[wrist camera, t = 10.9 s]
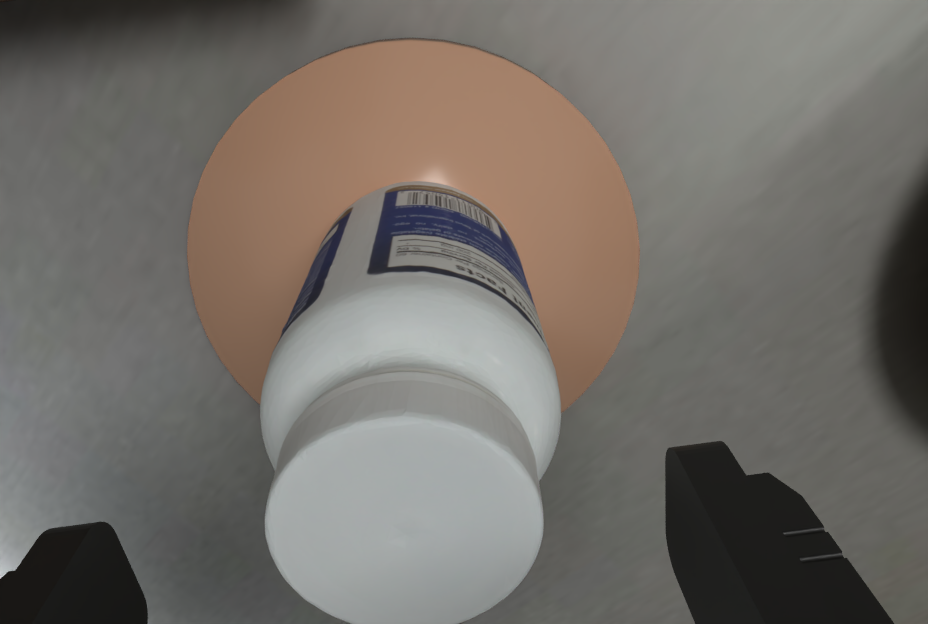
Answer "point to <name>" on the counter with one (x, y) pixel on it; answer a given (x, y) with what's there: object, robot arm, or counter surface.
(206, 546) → the counter surface
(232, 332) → the salmon pink disc
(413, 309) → the pill bottle
